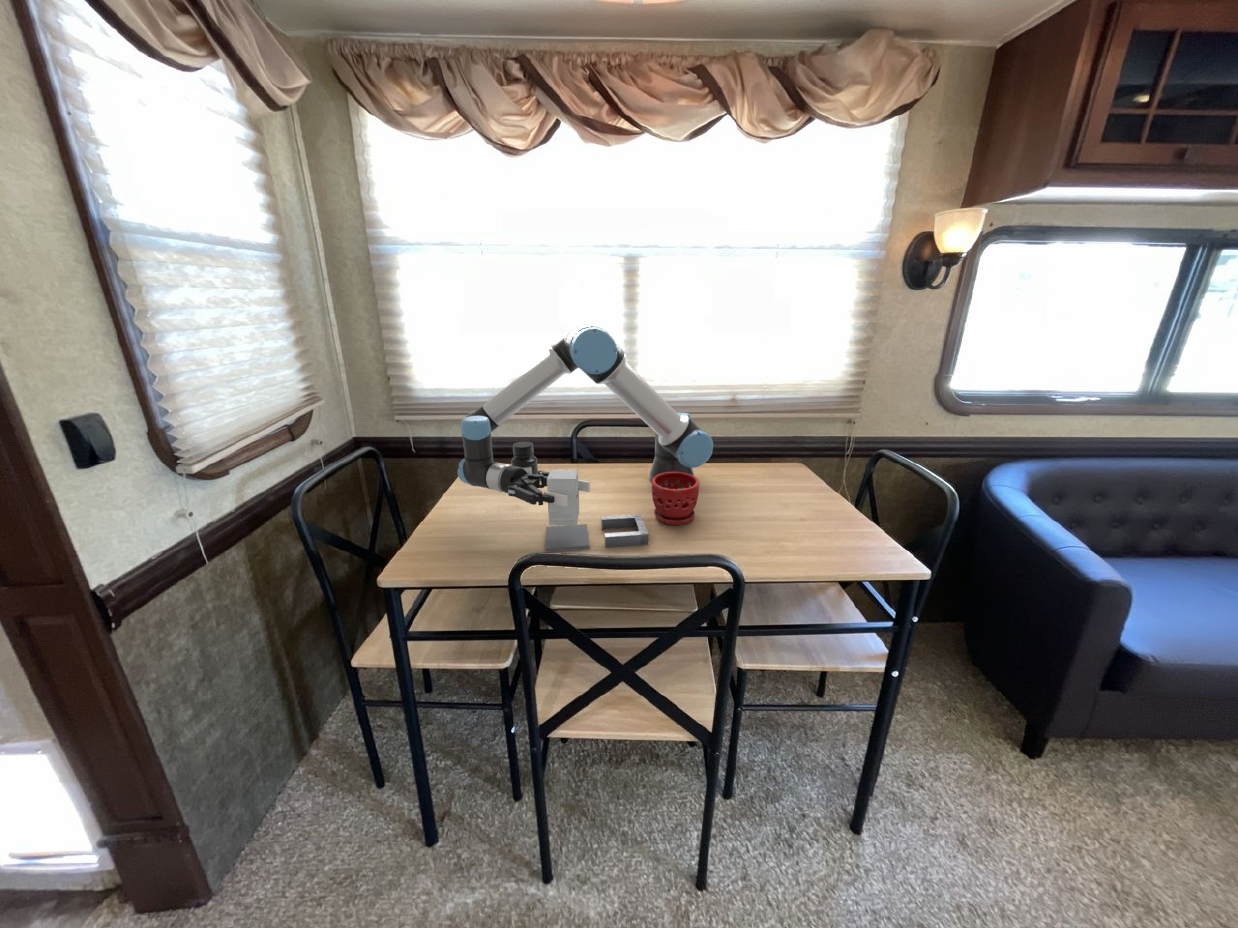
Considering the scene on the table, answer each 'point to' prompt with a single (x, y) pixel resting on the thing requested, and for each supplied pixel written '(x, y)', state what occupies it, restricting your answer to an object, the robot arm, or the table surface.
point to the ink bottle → (525, 457)
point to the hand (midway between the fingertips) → (578, 493)
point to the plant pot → (675, 497)
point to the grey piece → (624, 537)
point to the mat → (567, 538)
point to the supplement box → (566, 485)
